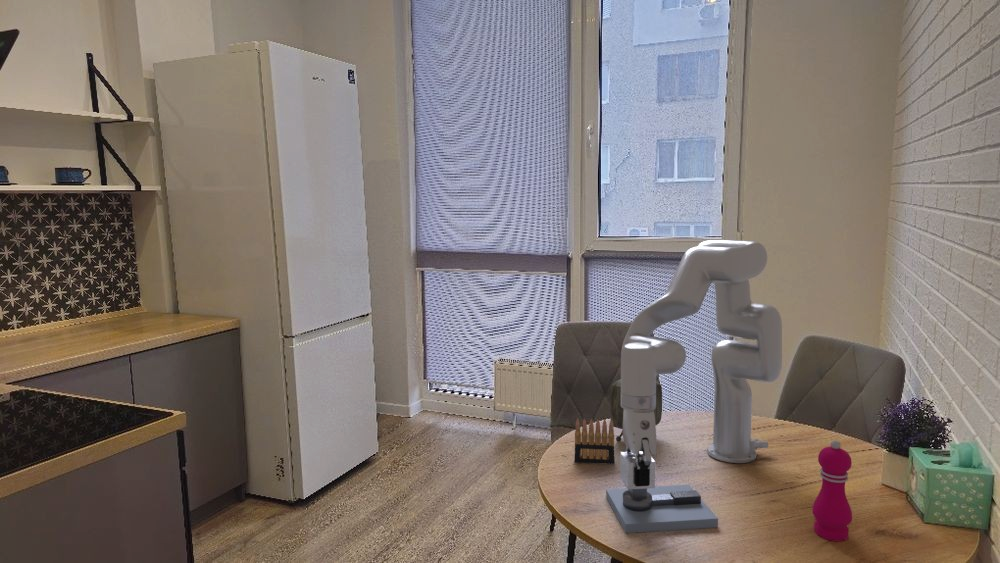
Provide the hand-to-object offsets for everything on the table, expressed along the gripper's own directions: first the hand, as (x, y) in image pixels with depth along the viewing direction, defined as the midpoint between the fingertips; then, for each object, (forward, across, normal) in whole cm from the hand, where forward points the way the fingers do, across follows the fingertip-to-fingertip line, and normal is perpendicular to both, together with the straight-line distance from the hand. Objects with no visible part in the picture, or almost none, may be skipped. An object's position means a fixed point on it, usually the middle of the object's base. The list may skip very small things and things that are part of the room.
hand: (637, 478), depth 136 cm
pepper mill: (+8, -13, -37) cm, 40 cm away
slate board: (+8, 0, -5) cm, 10 cm away
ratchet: (+6, 0, -6) cm, 8 cm away
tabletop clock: (+8, +42, -13) cm, 45 cm away
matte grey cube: (+1, 0, 0) cm, 1 cm away
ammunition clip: (+8, +28, +3) cm, 29 cm away
